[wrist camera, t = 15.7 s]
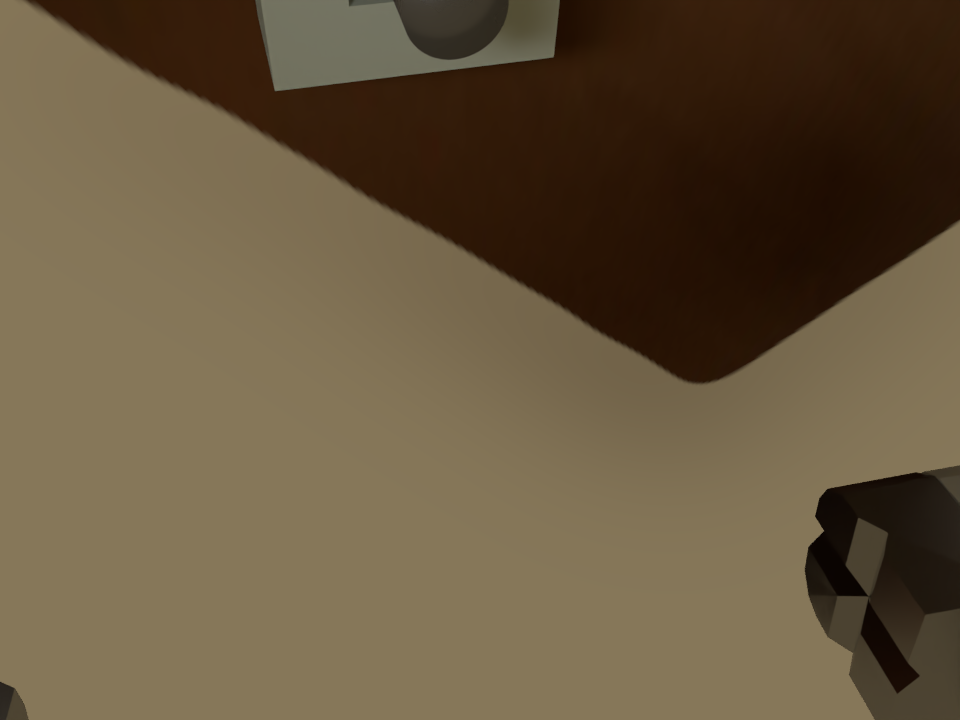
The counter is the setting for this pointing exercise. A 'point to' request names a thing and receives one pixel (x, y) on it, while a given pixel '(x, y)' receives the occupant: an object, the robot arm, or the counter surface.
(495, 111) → the counter surface
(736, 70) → the counter surface
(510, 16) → the hole block
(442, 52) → the steel pin
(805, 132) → the counter surface
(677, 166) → the counter surface
